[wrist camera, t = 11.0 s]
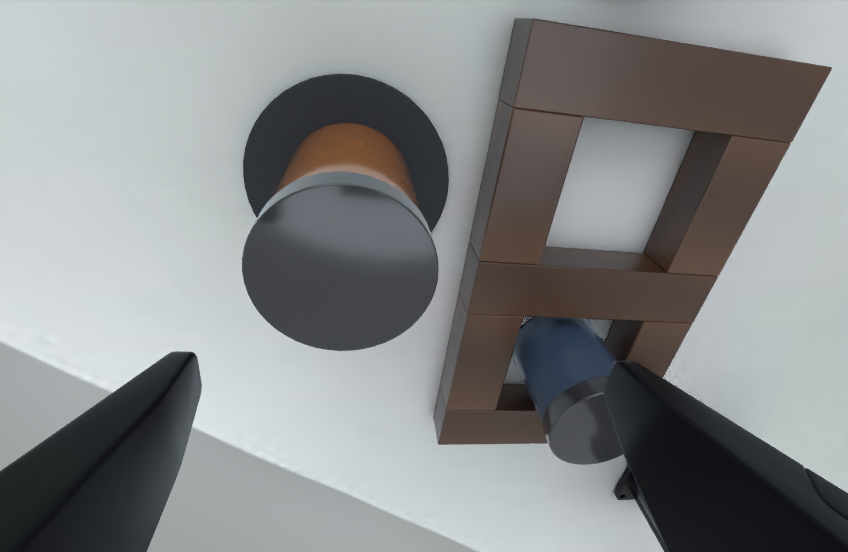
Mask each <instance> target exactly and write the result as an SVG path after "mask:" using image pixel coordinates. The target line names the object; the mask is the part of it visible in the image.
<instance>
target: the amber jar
mask: <svg viewBox="0 0 848 552" xmlns="http://www.w3.org/2000/svg"><path fill="white" fill-rule="evenodd" d="M438 271H439V270H438V258H437V253H436V248H435V245H434V242H433V239H432V235H431V232H430V230H429V227H428V224H427V222H426V221H425V219H424V217H423V215H422V213H421V209H420V206H419V203H418V199H417V196H416V192H415V189H414V186H413V182H412V179H411V175H410V172H409V168H408V166H407V163H406V160H405V159H404V157H403V155H402V153H401V152H400V150H399V149H398V147H397V146H396V145H395V144H394V143H393V142H392V141H391V140H390V139H389V138H387V137H386V136H385V135H383V134H382V133H380V132H379V131H377V130H375V129H373V128H370V127H367V126H364V125H360V124H355V123H338V124H333V125H328V126H326V127H323V128H320V129H318V130H317V131H315V132H313V133H312V134H310V135H309V136H308V137H306V138H305V139H304V140H303V141H302V142H301V143H300V145H299V146H298V148H297V149H296V150H295V152H294V154H293V156H292V158H291V160H290V162H289V164H288V166H287V168H286V170H285V172H284V174H283V176H282V178H281V180H280V182H279V184H278V186H277V188H276V190H275V192H274V194H273V196H272V198H271V199H270V200H269V201H268V202H267V204H266V205H265V206H264V208H263V209H262V210H261V212H260V214H259V216H258V218H257V220H256V221H255V223H254V225H253V227H252V229H251V231H250V233H249V235H248V237H247V240H246V243H245V246H244V250H243V257H242V273H243V279H244V283H245V286H246V289H247V293H248V295H249V297H250V299H251V301H252V303H253V304H254V306H255V307H256V309H257V310H258V312H259V313H260V314H261V315H262V316H263V317H264V318H265V320H266V321H267V322H268V323H270V324H271V325H272V326H273V327H274V328H275V329H277V330H278V331H280V332H281V333H283V334H284V335H286V336H288V337H290V338H292V339H293V340H295V341H298V342H300V343H303V344H305V345H309V346H312V347H316V348H321V349H326V350H337V351H349V350H359V349H365V348H369V347H374V346H376V345H379V344H382V343H385V342H387V341H389V340H391V339H393V338H395V337H397V336H399V335H400V334H402V333H403V332H405V331H406V330H407V329H409V328H410V327H411V326H412V325H413V324H414V323H415V322H416V321H417V320H418V319H419V318H420V317H421V316H422V314H423V313H424V312H425V310H426V309H427V307H428V305H429V303H430V302H431V300H432V297H433V295H434V292H435V289H436V285H437V281H438Z"/></svg>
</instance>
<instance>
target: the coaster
mask: <svg viewBox="0 0 848 552" xmlns="http://www.w3.org/2000/svg"><path fill="white" fill-rule="evenodd" d="M338 123H355V124H360V125H364V126H367V127H370V128H373V129H375V130H377V131H379V132H380V133H382V134H383V135H385V136H386V137H387V138H389V139H390V140H391V141H392V142H393V143H394V144H395V145H396V146H397V147H398V149H399V150H400V152H401V153H402V155H403V157H404V159H405V160H406V163H407V166H408V168H409V172H410V175H411V179H412V182H413V186H414V189H415V192H416V196H417V199H418V203H419V206H420V209H421V213H422V215H423V217H424V219H425V221H426V222H427V224H428V227H429V230H430V232H431V231H432V230H433V229H434V227H435V225H436V224H437V222H438V220H439V218H440V216H441V213H442V211H443V208H444V205H445V201H446V197H447V192H448V182H449V179H448V165H447V159H446V154H445V151H444V148H443V145H442V142H441V140H440V138H439V136H438V133H437V131H436V130H435V128H434V126H433V125H432V123H431V122H430V120H429V119H428V117H427V116H426V115H425V114H424V112H423V111H422V110H421V109H420V108H419V107H418V106H417V105H416V104H415V103H414V102H413V101H412V100H411V99H410V98H408V97H407V96H406V95H404V94H403V93H401V92H400V91H398V90H397V89H395V88H393V87H391V86H389V85H387V84H385V83H383V82H380V81H377V80H375V79H372V78H368V77H363V76H359V75H351V74H332V75H323V76H319V77H315V78H311V79H308V80H305V81H303V82H300V83H298V84H296V85H294V86H292V87H291V88H289V89H287V90H285V91H284V92H283V93H282V94H280V95H279V96H278V97H277V98H275V99H274V100H273V101H272V102H271V103H270V104H269V105H268V106H267V107H266V108H265V110H264V111H263V112H262V113H261V115H260V116H259V118H258V119H257V121H256V122H255V124H254V126H253V128H252V130H251V133H250V135H249V138H248V141H247V144H246V148H245V154H244V161H243V176H244V183H245V189H246V193H247V196H248V200H249V203H250V205H251V207H252V209H253V212H254V214H255V215H256V217H257V218H258V216H259V214H260V212H261V210H262V209H263V208H264V206H265V205H266V204H267V202H268V201H269V200H270V199H271V198H272V196H273V194H274V192H275V190H276V188H277V186H278V184H279V182H280V180H281V178H282V176H283V174H284V172H285V170H286V168H287V166H288V164H289V162H290V160H291V158H292V156H293V154H294V152H295V150H296V149H297V148H298V146H299V145H300V143H301V142H302V141H303V140H304V139H305V138H306V137H308V136H309V135H310V134H312V133H313V132H315V131H317V130H318V129H320V128H323V127H326V126H328V125H333V124H338Z"/></svg>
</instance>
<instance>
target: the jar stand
mask: <svg viewBox="0 0 848 552" xmlns="http://www.w3.org/2000/svg"><path fill="white" fill-rule="evenodd" d="M831 69H832V68H831V67H827V66H821V65H815V64H809V63H802V62H796V61H790V60H784V59H778V58H772V57H766V56H760V55H754V54H747V53H741V52H735V51H729V50H723V49H717V48H711V47H705V46H699V45H692V44H686V43H680V42H674V41H668V40H662V39H656V38H650V37H644V36H637V35H631V34H625V33H619V32H613V31H607V30H601V29H595V28H589V27H583V26H576V25H570V24H564V23H558V22H552V21H546V20H540V19H531V18H515V21H514V26H513V31H512V36H511V41H510V45H509V50H508V55H507V60H506V65H505V70H504V75H503V80H502V84H501V89H500V94H499V101H498V105H497V110H496V115H495V120H494V125H493V130H492V134H491V139H490V144H489V149H488V154H487V159H486V164H485V169H484V173H483V178H482V183H481V188H480V193H479V198H478V203H477V207H476V212H475V217H474V222H473V227H472V232H471V237H470V242H469V246H468V251H467V256H466V261H465V266H464V271H463V275H462V280H461V285H460V291H459V295H458V299H457V304H456V309H455V314H454V319H453V324H452V329H451V334H450V338H449V343H448V348H447V353H446V358H445V363H444V368H443V373H442V377H441V382H440V388H439V393H438V398H437V402H436V407H435V412H434V423H435V429H436V434H437V440H438V444H439V445H447V444H532V443H548V442H547V440H546V437H545V435H544V432H543V427H542V423H541V421H540V418H539V416H538V414H537V412H536V409H535V407H534V405H533V402H532V400H531V398H530V395H529V393H528V391H527V389H526V386H525V385H503V383H504V380H505V376H506V373H507V370H508V366H509V363H510V360H511V357H512V353H513V350H514V347H515V343H516V340H517V337H518V333H519V330H520V327H521V324H522V320H523V316H535V317H560V318H584V319H609V320H615V321H614V323H613V325H612V328H611V330H610V332H609V335H608V337H607V339H606V342H605V344H606V345H607V347H608V348H609V349H610V351H611V352H612V353H613V355H614V356H615V358H616V359H617V360H618V361H635V362H637V363H639V364H641V365H642V366H644V367H645V368H647V369H649V370H650V371H652V372H653V373H655V374H657V375H658V376H660V377H661V378H663V376H664V375H665V373H666V371H667V369H668V367H669V365H670V364H671V362H672V360H673V358H674V356H675V354H676V353H677V351H678V349H679V347H680V345H681V343H682V342H683V340H684V338H685V336H686V334H687V332H688V331H689V329H690V327H691V325H692V323H693V322H694V320H695V318H696V316H697V314H698V313H699V311H700V309H701V307H702V305H703V303H704V301H705V300H706V298H707V296H708V294H709V292H710V290H711V289H712V287H713V285H714V283H715V281H716V279H717V278H718V277H717V276H719V274H720V272H721V270H722V269H723V267H724V265H725V263H726V261H727V259H728V258H729V256H730V254H731V252H732V250H733V248H734V247H735V245H736V243H737V241H738V239H739V237H740V236H741V234H742V232H743V230H744V228H745V226H746V225H747V223H748V221H749V219H750V217H751V215H752V214H753V212H754V210H755V208H756V206H757V204H758V203H759V201H760V199H761V197H762V195H763V193H764V192H765V190H766V188H767V186H768V184H769V182H770V181H771V179H772V177H773V175H774V173H775V171H776V170H777V168H778V166H779V164H780V162H781V160H782V159H783V157H784V155H785V153H786V151H787V149H788V148H789V146H790V142H792V141H793V139H794V137H795V135H796V133H797V132H798V130H799V128H800V126H801V124H802V122H803V121H804V119H805V117H806V115H807V113H808V111H809V110H810V108H811V106H812V104H813V102H814V100H815V99H816V97H817V95H818V93H819V91H820V89H821V88H822V86H823V84H824V82H825V80H826V78H827V77H828V75H829V73H830V71H831ZM582 116H584V117H592V118H600V119H608V120H616V121H624V122H632V123H640V124H648V125H655V126H663V127H671V128H679V129H687V130H695V131H696V133H695V135H694V138H693V140H692V142H691V145H690V147H689V149H688V152H687V154H686V156H685V159H684V161H683V163H682V165H681V168H680V170H679V172H678V175H677V177H676V179H675V182H674V184H673V186H672V189H671V191H670V193H669V195H668V198H667V200H666V202H665V205H664V207H663V209H662V212H661V214H660V216H659V219H658V221H657V223H656V226H655V228H654V230H653V232H652V235H651V237H650V239H649V242H648V244H647V246H646V249H645V251H644V253H645V254H643V253H629V252H614V251H600V250H586V249H571V248H557V247H545V244H546V240H547V237H548V234H549V231H550V227H551V224H552V221H553V217H554V214H555V211H556V207H557V204H558V201H559V197H560V194H561V191H562V188H563V184H564V181H565V178H566V174H567V171H568V168H569V164H570V161H571V158H572V155H573V151H574V148H575V145H576V141H577V138H578V135H579V131H580V128H581V125H582V122H583V117H582Z"/></svg>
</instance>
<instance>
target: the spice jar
mask: <svg viewBox="0 0 848 552" xmlns="http://www.w3.org/2000/svg"><path fill="white" fill-rule="evenodd" d="M512 355H513V359H514V361H515V363H516V366H517V368H518V370H519V373H520V375H521V377H522V379H523V382H524V384H525V386H526V389H527V391H528V393H529V395H530V398H531V400H532V402H533V405H534V407H535V409H536V412H537V414H538V416H539V418H540V421H541V423H542V427H543V432H544V435H545V437H546V440H547V442H548V444H549V447H550V449H551V450H552V452H553V453H554V454H555V455H556V456H557V457H558V458H559V459H561V460H563V461H566V462H568V463H572V464H581V465H586V464H596V463H601V462H605V461H608V460H611V459H614V458H616V457H618V456H620V455H622V454H624V453H623V450H622V448H621V445H620V442H619V439H618V436H617V433H616V430H615V427H614V424H613V422H612V419H611V416H610V413H609V410H608V407H607V404H606V401H605V398H604V386H605V383H606V381H607V379H608V377H609V374H610V372H611V370H612V368H613V366H614V364H615V363H616V362H617V361H618V360H617V359H616V358H615V356H614V355H613V353H612V352H611V351H610V349H609V348H608V347H607V345H606V344H605V343H604V341H603V340H602V338H601V337H600V336H599V334H598V333H597V332H596V330H595V329H594V328H593V326H592V325H591V324H590V322H589V321H588V320H587V319H584V318H560V317H534V318H533V319H531V320H530V321H528V322H527V323H526V324H525V325H524V326H523V327H522V328H521V329H520V330H519V333H518V337H517V340H516V343H515V347H514V350H513V353H512Z"/></svg>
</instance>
